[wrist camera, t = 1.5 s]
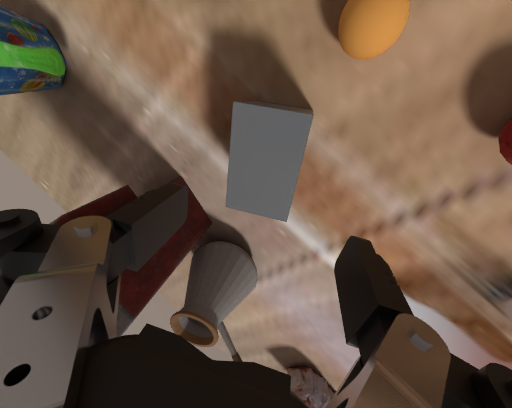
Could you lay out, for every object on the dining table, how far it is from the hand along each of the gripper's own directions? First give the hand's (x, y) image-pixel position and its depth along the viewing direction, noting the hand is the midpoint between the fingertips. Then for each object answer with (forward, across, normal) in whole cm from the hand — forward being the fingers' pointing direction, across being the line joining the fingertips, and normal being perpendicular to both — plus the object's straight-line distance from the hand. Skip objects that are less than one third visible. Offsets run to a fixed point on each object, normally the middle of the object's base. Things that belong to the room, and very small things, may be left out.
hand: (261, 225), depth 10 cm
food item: (+17, -20, +49) cm, 56 cm away
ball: (+15, -4, -12) cm, 19 cm away
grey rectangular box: (+17, +1, 0) cm, 17 cm away
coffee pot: (+18, +1, +24) cm, 30 cm away
